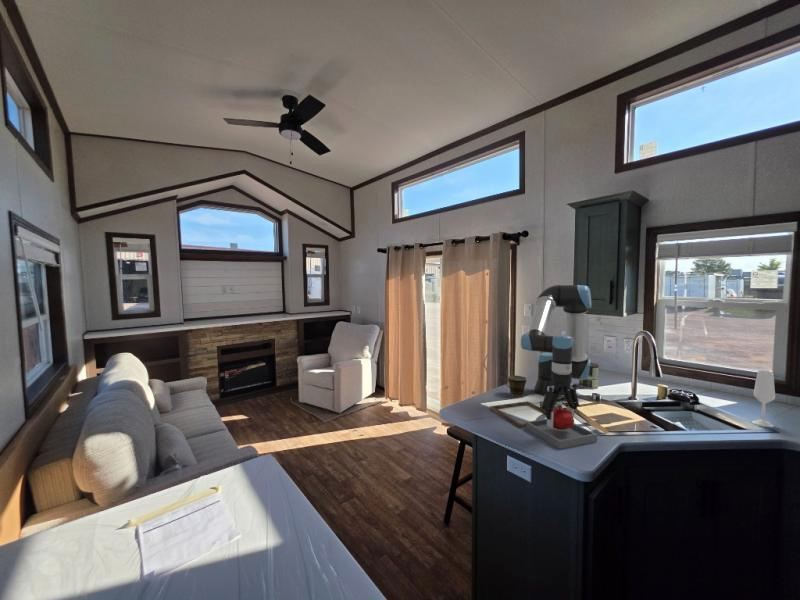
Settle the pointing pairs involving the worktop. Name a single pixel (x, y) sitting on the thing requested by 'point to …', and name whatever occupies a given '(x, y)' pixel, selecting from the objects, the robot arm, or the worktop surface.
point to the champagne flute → (764, 393)
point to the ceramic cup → (516, 385)
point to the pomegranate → (562, 418)
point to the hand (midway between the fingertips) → (560, 424)
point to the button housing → (554, 406)
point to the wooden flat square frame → (494, 408)
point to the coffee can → (591, 378)
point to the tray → (561, 434)
